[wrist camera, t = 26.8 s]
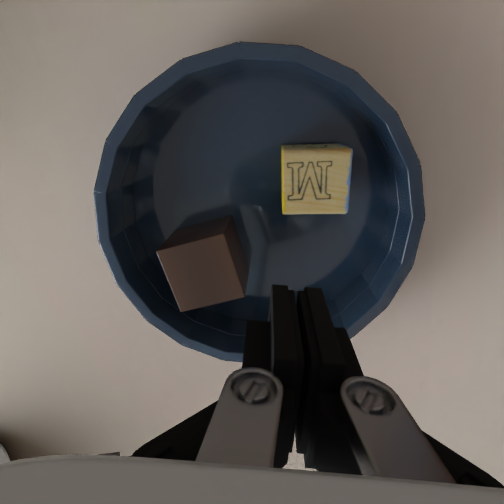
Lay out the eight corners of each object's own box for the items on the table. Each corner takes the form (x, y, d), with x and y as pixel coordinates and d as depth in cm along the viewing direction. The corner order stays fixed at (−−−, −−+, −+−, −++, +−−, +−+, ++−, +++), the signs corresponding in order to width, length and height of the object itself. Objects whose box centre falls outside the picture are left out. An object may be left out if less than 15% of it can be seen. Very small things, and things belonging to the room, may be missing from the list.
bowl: (423, 71, 17) (467, 55, 13) (366, 333, 22) (385, 375, 19) (119, 50, 17) (77, 30, 14) (135, 313, 23) (108, 350, 19)
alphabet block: (337, 201, 19) (349, 215, 16) (280, 202, 19) (282, 216, 16) (341, 142, 18) (354, 146, 15) (280, 144, 18) (282, 148, 15)
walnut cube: (232, 214, 19) (224, 233, 16) (249, 269, 21) (245, 297, 17) (174, 230, 20) (155, 251, 17) (194, 283, 21) (180, 312, 18)
